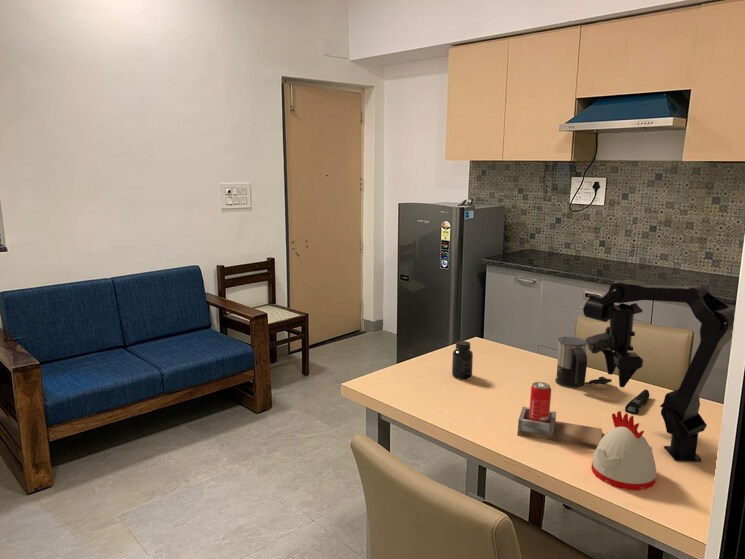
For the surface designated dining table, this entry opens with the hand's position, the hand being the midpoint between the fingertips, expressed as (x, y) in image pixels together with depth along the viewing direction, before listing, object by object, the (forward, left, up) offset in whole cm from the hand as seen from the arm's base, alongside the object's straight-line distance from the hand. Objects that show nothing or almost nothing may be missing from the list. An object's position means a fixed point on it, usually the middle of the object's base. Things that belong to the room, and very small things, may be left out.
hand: (615, 380), depth 156 cm
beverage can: (-6, +21, -12) cm, 25 cm away
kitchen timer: (-26, +6, -13) cm, 30 cm away
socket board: (-7, +16, -13) cm, 22 cm away
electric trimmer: (+14, -12, -14) cm, 23 cm away
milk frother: (+29, 0, -13) cm, 32 cm away
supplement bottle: (+33, +39, -13) cm, 53 cm away
